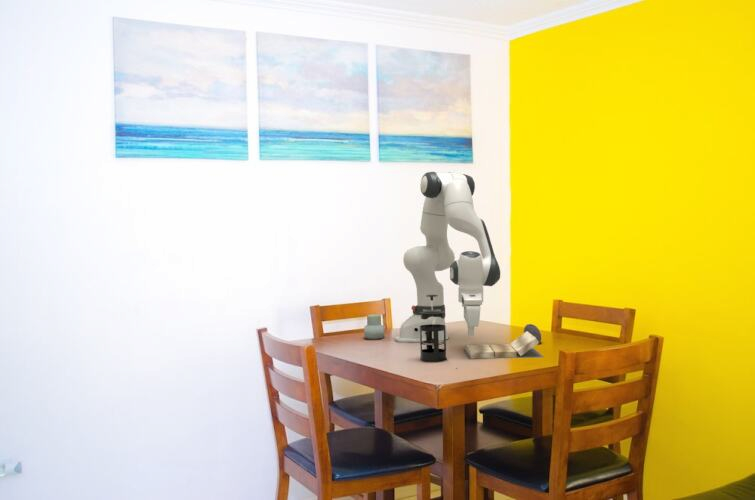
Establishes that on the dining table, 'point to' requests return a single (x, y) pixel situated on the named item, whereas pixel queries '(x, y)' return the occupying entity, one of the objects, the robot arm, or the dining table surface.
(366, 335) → the air freshener
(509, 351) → the fixed plank
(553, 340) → the dining table surface
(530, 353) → the underlay mat
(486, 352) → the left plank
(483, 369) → the dining table surface
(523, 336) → the right plank
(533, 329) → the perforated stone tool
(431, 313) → the french press
